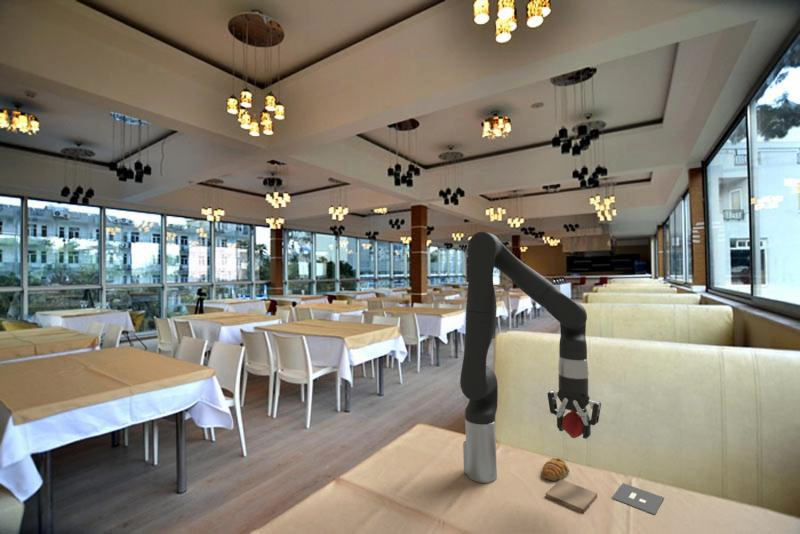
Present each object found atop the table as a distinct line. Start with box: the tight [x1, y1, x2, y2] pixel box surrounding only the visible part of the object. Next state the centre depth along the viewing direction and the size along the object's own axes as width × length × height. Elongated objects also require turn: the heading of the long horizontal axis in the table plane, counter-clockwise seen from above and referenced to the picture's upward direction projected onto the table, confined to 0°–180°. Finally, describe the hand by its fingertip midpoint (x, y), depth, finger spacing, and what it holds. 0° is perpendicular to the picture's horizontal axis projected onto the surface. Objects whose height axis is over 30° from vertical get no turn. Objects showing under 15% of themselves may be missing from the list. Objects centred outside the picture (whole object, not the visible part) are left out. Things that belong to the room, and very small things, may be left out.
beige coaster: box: [545, 478, 598, 514], centre depth 101 cm, size 10×10×1 cm
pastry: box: [541, 457, 570, 482], centre depth 113 cm, size 9×7×4 cm
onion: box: [562, 410, 584, 439], centre depth 102 cm, size 6×6×8 cm
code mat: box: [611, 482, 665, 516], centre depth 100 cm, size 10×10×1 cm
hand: (573, 433), depth 102 cm, fingers closed on onion, 6 cm apart
